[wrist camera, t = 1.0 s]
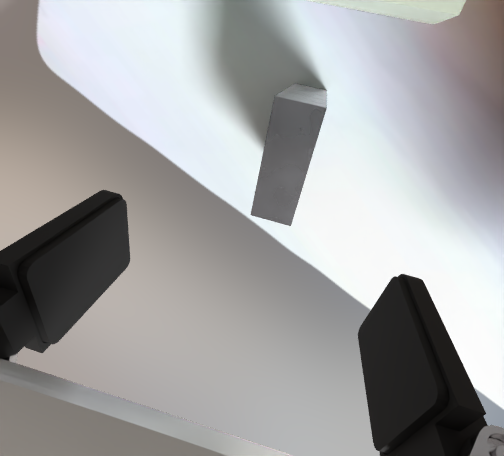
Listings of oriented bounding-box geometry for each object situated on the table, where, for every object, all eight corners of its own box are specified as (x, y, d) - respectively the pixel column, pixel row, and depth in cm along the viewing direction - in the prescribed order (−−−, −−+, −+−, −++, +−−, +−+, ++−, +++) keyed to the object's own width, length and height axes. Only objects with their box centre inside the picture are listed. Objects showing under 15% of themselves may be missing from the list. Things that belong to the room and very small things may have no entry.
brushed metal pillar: (326, 90, 25) (326, 107, 15) (302, 171, 30) (290, 226, 20) (295, 83, 26) (274, 95, 16) (276, 164, 30) (250, 215, 20)
